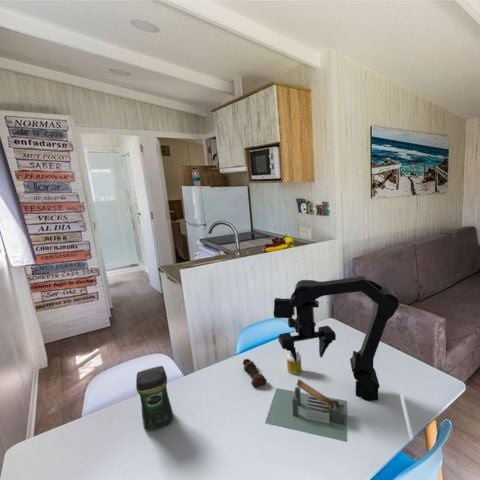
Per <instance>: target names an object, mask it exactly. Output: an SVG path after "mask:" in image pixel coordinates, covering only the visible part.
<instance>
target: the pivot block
mask: <svg viewBox="0 0 480 480" xmlns="http://www.w3.org/2000/svg"><path fill="white" fill-rule="evenodd" d="M332 401H333V402H336V403H337V409H334V408H331V422H335V423H339V424H343V425H344V405H342V404H339V401H337V400H332Z"/></svg>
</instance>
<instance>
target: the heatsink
mask: <svg viewBox="0 0 480 480" xmlns="http://www.w3.org/2000/svg"><path fill="white" fill-rule="evenodd" d="M330 410H331V408H330V407H329V406H327V405H326V404H324V403H323V402H321V401H320V400H318V399H317V398H315V397H313V396H309V395H308V402H307V405H306V420H308V421H313V422H317V423H322V424H327V425H329V423H330Z"/></svg>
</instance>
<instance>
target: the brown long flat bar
mask: <svg viewBox="0 0 480 480" xmlns="http://www.w3.org/2000/svg"><path fill="white" fill-rule="evenodd" d="M296 387H299V388H300V390H302V391H304V392H305V393H307V394H310V395H312V396H313V397H315V398H317V399H318V400H320V401H321V402H323V403H324V404H326V405H327V406H329V407H330V408H334V409H337V403H336V402H333V401H331V400H330V399H328V398H327V397H328V396H325V395H324V394H322V393H320V391H318V390H316V389H314V388H313V387H311V386H310V385H309V384H308V383H306V382H304V381H303V380H301V379H298V380H297V382H296Z"/></svg>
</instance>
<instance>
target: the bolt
mask: <svg viewBox="0 0 480 480" xmlns="http://www.w3.org/2000/svg"><path fill="white" fill-rule="evenodd" d="M242 364H243V370H244V371H245V372H246V374H247V375H249V376H250V378H251V382H250V384H251V386H252V387H253V388H254V389H256V388H259V387H263V386H266V384H267V379H266V377H265V376H264V374H262V373H259V372H258V370H257V365H256V364H255V363H254V362H253V361H252V360H251V359H249V358H244V359H243V361H242Z"/></svg>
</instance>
